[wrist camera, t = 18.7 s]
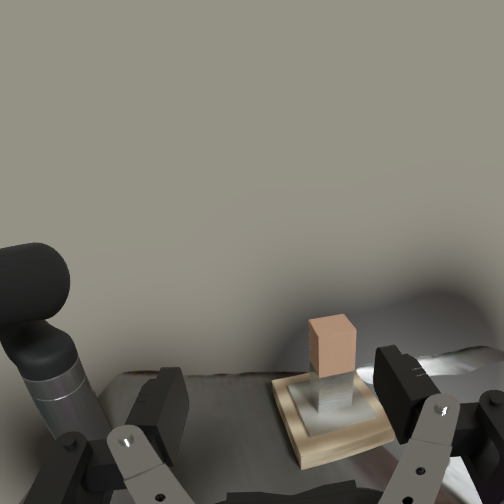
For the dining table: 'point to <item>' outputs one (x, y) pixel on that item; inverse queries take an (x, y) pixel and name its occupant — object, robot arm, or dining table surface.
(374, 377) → the robot arm
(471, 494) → the dining table surface
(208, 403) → the dining table surface
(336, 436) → the stand
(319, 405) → the housing base
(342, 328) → the tapered tan block
